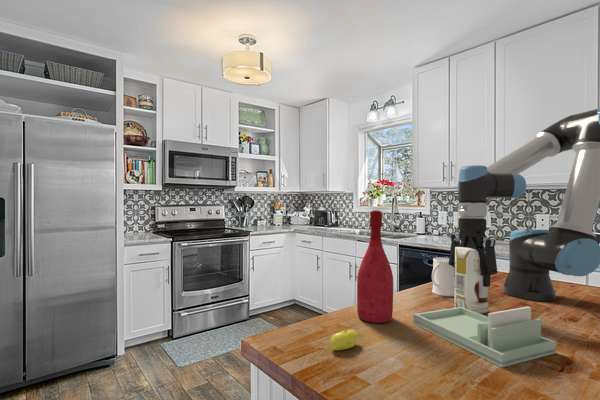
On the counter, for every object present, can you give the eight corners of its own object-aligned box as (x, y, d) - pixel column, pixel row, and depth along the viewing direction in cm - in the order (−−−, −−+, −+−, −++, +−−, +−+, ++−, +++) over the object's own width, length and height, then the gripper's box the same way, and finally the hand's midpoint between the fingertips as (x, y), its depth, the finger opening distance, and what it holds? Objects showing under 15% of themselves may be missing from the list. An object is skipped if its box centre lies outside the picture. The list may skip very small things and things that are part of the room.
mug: (440, 299, 111) (441, 263, 111) (420, 292, 119) (421, 259, 119) (463, 294, 117) (464, 260, 117) (442, 288, 124) (443, 256, 124)
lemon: (325, 348, 73) (325, 330, 73) (352, 340, 78) (352, 323, 78) (337, 356, 70) (337, 337, 70) (364, 347, 74) (365, 329, 74)
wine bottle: (399, 318, 93) (400, 210, 93) (381, 327, 86) (383, 211, 85) (368, 309, 99) (369, 209, 99) (349, 318, 92) (351, 210, 92)
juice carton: (450, 308, 102) (450, 246, 101) (470, 305, 105) (471, 245, 105) (471, 316, 95) (472, 249, 95) (492, 312, 98) (493, 248, 98)
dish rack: (460, 315, 95) (460, 284, 95) (555, 353, 72) (556, 311, 72) (413, 323, 89) (413, 289, 89) (501, 367, 66) (502, 322, 66)
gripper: (436, 215, 108) (435, 286, 108) (495, 219, 89) (493, 305, 89) (453, 215, 111) (452, 284, 111) (514, 219, 92) (512, 302, 92)
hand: (471, 293), depth 100 cm, fingers closed on juice carton, 8 cm apart
